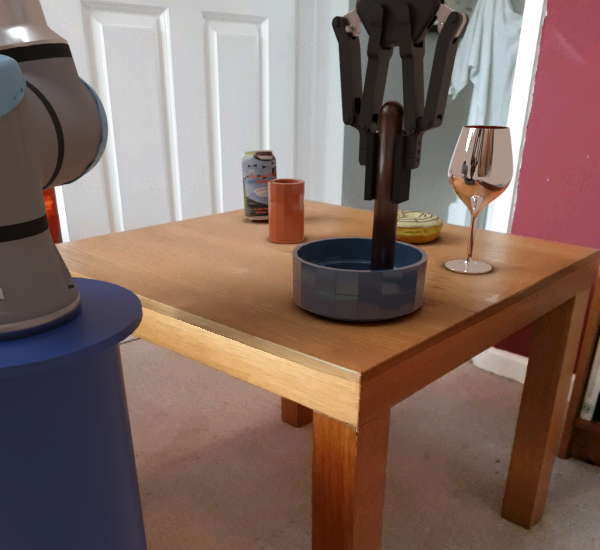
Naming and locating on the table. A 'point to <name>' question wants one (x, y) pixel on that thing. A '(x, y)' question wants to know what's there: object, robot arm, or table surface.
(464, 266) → the wineglass
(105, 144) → the robot arm
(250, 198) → the beverage can
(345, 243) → the bowl
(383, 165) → the stirring stick
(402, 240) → the decorated donut
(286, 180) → the utensil pot
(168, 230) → the table surface
